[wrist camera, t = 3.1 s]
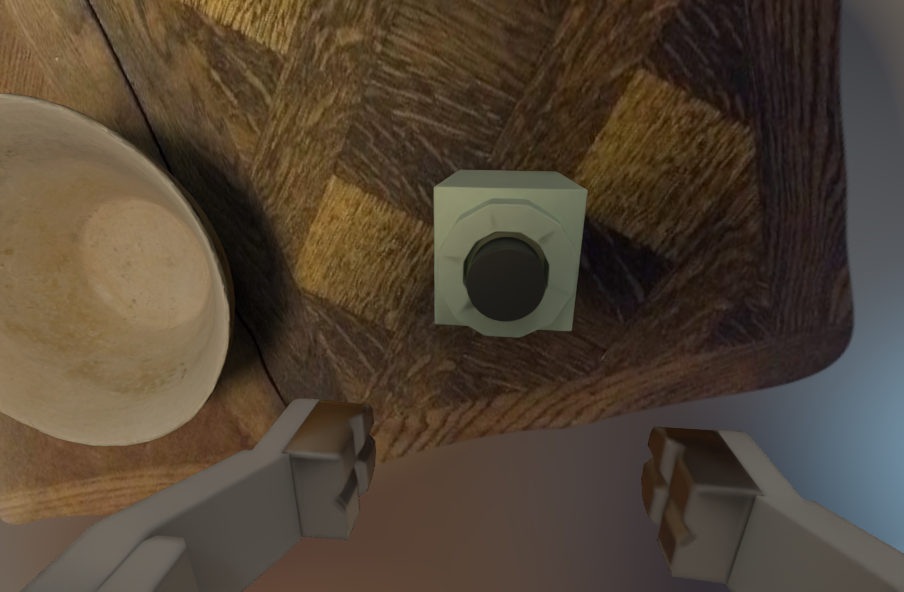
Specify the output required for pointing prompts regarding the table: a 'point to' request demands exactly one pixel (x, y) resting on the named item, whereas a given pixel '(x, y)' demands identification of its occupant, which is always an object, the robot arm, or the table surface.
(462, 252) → the green square bottle
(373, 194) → the table surface
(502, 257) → the cylinder
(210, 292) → the bowl
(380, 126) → the table surface
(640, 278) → the table surface
